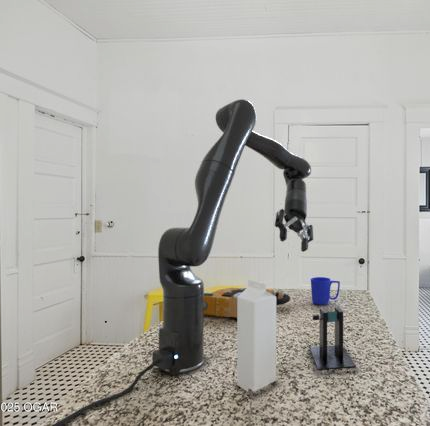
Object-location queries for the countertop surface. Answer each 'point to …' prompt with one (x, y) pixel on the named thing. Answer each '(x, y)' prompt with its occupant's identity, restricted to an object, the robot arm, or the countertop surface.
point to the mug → (322, 290)
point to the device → (232, 301)
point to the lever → (328, 317)
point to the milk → (256, 337)
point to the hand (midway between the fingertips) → (294, 245)
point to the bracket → (333, 354)
